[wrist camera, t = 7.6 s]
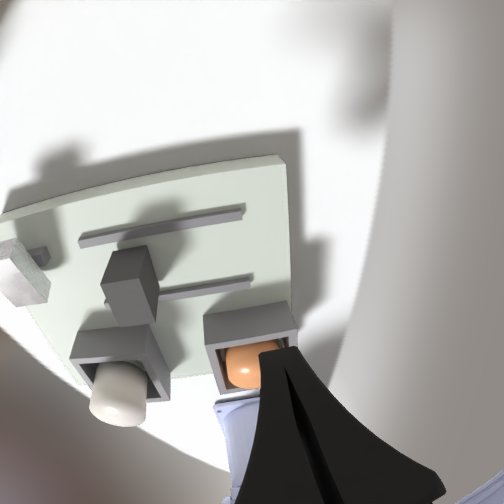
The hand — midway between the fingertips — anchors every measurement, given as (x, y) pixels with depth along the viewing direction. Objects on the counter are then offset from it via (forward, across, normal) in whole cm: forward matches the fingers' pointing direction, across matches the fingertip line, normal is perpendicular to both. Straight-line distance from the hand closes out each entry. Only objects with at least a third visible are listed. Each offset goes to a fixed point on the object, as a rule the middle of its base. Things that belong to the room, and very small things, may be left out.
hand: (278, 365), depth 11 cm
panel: (+10, +7, +3) cm, 12 cm away
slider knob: (+8, +6, 0) cm, 10 cm away
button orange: (+8, +1, +7) cm, 10 cm away
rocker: (+6, +13, -2) cm, 15 cm away
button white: (+6, +10, +7) cm, 13 cm away
